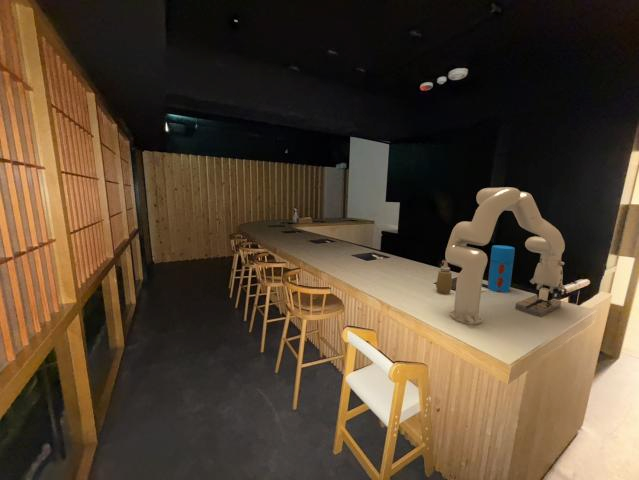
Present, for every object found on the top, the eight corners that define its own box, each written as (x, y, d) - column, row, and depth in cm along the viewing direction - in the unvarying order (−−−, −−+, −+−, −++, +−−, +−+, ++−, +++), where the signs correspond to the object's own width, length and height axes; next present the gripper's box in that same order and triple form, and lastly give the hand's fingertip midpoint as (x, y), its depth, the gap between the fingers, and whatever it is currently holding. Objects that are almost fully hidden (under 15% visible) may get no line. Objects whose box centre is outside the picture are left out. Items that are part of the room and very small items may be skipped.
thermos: (487, 290, 153) (492, 247, 148) (486, 285, 162) (491, 244, 158) (511, 294, 148) (516, 249, 143) (508, 288, 157) (513, 246, 153)
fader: (541, 299, 135) (543, 287, 134) (550, 301, 132) (551, 289, 131) (538, 300, 133) (539, 288, 132) (546, 303, 130) (548, 291, 129)
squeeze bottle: (449, 296, 144) (452, 263, 141) (433, 293, 149) (436, 261, 146) (452, 292, 150) (455, 260, 147) (437, 289, 155) (439, 258, 152)
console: (535, 300, 139) (536, 294, 139) (560, 306, 131) (561, 300, 130) (515, 309, 128) (515, 302, 128) (540, 317, 120) (541, 310, 119)
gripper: (575, 265, 124) (569, 302, 127) (533, 258, 138) (528, 292, 141) (569, 267, 120) (562, 306, 123) (526, 259, 134) (521, 294, 137)
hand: (544, 298), depth 132 cm, fingers closed on fader, 3 cm apart
